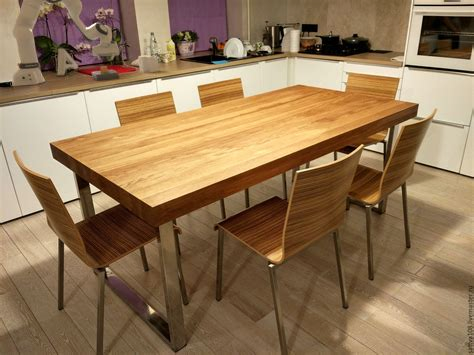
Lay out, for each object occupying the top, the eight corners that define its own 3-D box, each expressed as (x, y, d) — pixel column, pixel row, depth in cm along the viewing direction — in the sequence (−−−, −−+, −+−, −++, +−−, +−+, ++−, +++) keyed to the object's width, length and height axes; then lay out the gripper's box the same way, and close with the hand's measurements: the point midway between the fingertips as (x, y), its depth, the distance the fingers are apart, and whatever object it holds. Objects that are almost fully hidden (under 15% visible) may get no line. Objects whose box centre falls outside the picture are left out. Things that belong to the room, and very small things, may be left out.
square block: (102, 78, 297) (100, 67, 293) (103, 77, 300) (101, 66, 297) (107, 77, 297) (105, 67, 294) (108, 76, 301) (106, 66, 297)
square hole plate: (97, 80, 289) (96, 74, 287) (92, 77, 301) (91, 71, 300) (118, 77, 296) (118, 72, 294) (113, 74, 308) (112, 69, 307)
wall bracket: (77, 89, 338) (63, 74, 309) (72, 90, 338) (57, 74, 309) (78, 65, 342) (64, 48, 313) (73, 66, 342) (58, 48, 313)
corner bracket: (140, 71, 320) (138, 56, 315) (151, 69, 327) (150, 54, 322) (147, 72, 313) (145, 57, 308) (159, 70, 320) (157, 55, 315)
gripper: (91, 42, 304) (90, 57, 299) (118, 41, 306) (118, 56, 301) (93, 48, 310) (93, 62, 305) (120, 47, 312) (119, 61, 307)
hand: (105, 59), depth 303 cm, fingers open, 8 cm apart
